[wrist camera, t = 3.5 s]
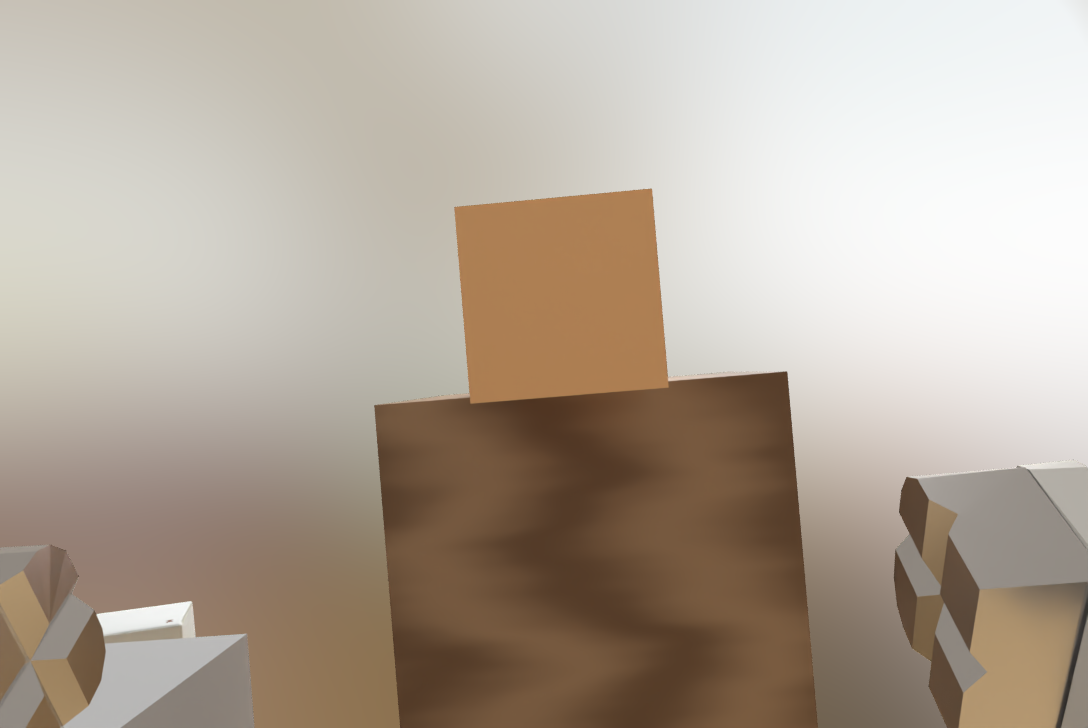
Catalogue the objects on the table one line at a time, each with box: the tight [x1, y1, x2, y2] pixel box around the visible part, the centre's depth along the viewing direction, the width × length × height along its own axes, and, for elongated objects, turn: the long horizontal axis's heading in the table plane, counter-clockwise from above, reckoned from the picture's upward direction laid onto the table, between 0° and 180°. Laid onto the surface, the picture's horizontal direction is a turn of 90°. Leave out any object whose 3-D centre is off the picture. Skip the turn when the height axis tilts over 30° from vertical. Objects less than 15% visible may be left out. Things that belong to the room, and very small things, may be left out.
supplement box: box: [96, 601, 195, 644], centre depth 64 cm, size 7×7×13 cm
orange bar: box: [455, 189, 669, 404], centre depth 31 cm, size 4×24×4 cm, turn 177°
